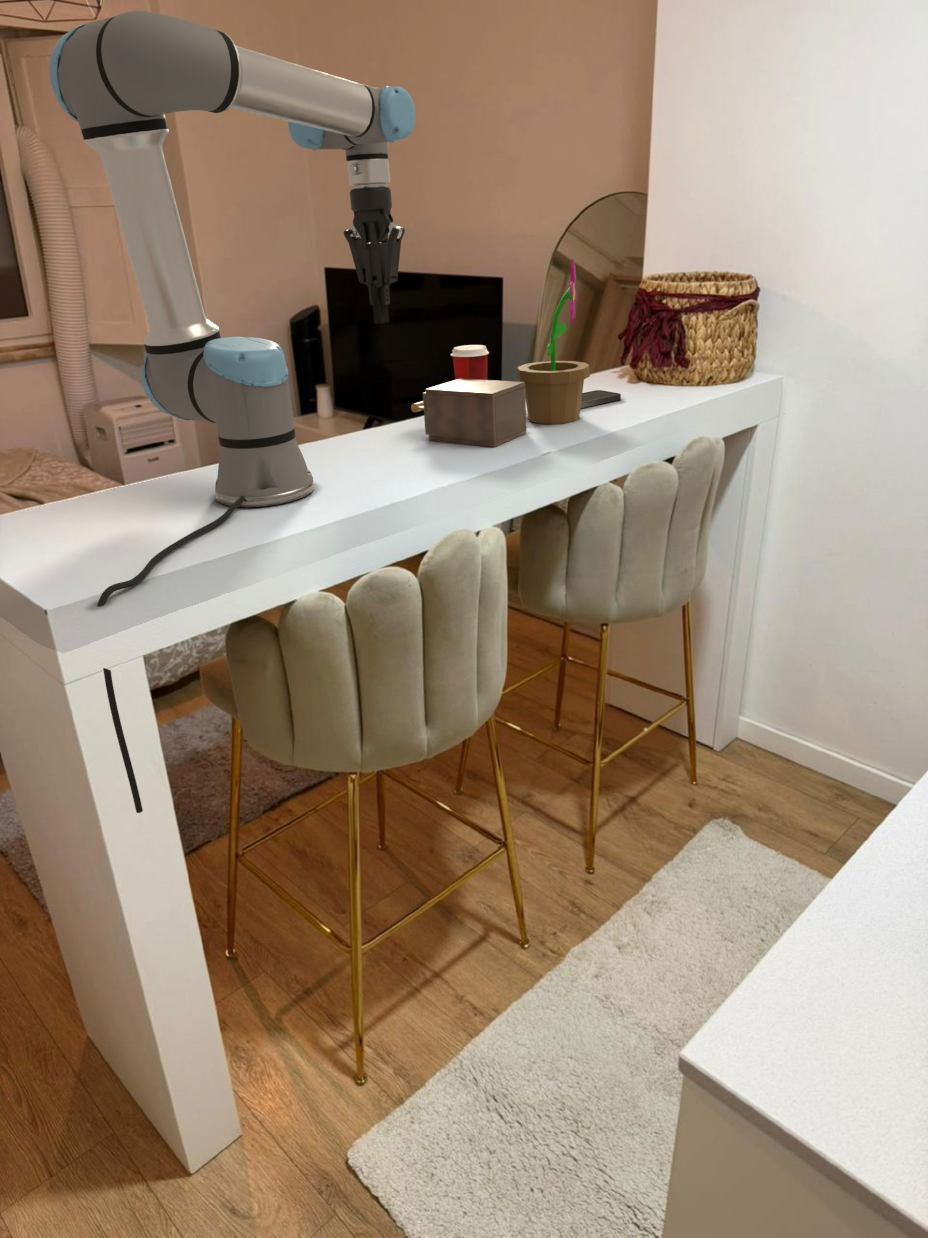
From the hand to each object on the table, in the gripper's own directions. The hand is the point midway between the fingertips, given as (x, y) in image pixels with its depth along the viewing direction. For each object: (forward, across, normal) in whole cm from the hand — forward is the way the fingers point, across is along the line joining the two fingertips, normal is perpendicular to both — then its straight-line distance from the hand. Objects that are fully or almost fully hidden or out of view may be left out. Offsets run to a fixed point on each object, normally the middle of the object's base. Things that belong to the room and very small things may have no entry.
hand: (381, 322), depth 171 cm
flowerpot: (+21, +27, +19) cm, 39 cm away
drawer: (+20, +17, 0) cm, 26 cm away
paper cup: (+21, +10, +15) cm, 27 cm away
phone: (+20, +26, +35) cm, 48 cm away
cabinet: (+20, +21, 0) cm, 29 cm away
